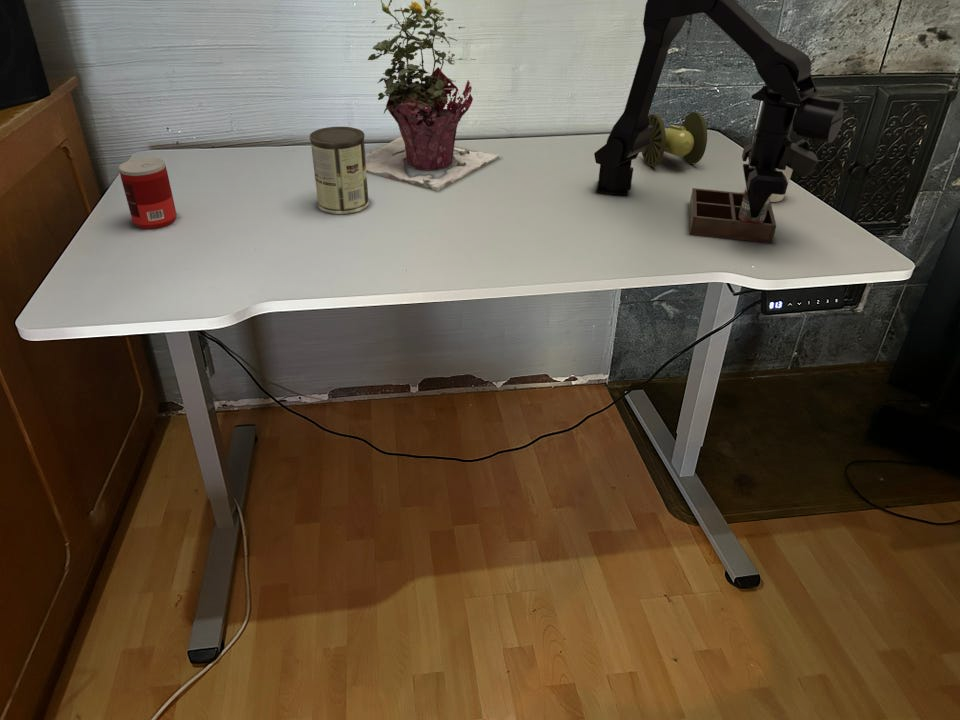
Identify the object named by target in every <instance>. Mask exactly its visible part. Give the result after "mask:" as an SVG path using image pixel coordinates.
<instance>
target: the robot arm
mask: <svg viewBox="0 0 960 720" xmlns="http://www.w3.org/2000/svg"><path fill="white" fill-rule="evenodd" d="M696 14H697V15H698V14H705V15H706V16H707V17H708V18H709V19H710V20H711V21H712V22H713V23H715V25H717V26H718V27H719V28H720V29H721V31H723V32H724V34H726V35H727V36H728V37H729V38H730V39H731V40H732V41H733V42H734V43H735V44H736V45H737V46H738V47H739V48H740V49H741V50H742V51H744V53H745V54H747V56H749V57H750V59H751V61H752V62H753V64H754V66H755V69H756V72H757V74H758V76H759V77H760V79H762V81H763V83H764V84H765V85H763V86H762V87H761V88H760V89H759V90H758V91H757V92H755V93H753V94H751V97H750V98H751V99H752V100H755V101H760V102H762V104H761V107H760V111H759V117H758V120H757V124H756V128H754V129H753V133H752V134H753V141H752V142H751V143H748V144H747V145H745V146H743V150H742V155H741V158H742V162H747V160H748V162H747V163H743V164H742V169H743V177H744V182H745V187H746V186H747V193H748V200H749V206H750V213H751V217H753V218H757V217H758V215H759V213H760V212H761V210H762V208H763V206H764V205H765V203H766V201H767V200H768V198H769V196H770V195H771V194H779V195H783V194H785V195H786V193H787V189H788V186H789V184H788V182H787V179H786V176H785V175H784V174H783V172H782V171H777V170H776V168H778V169H779V170H785V169H786V166H787V167H789V168H791V169H793V171H795V172H796V173H799V174H800V175H801V176H803V177H805V178H808V177H809V176H810V175H811V173H812V172H813V170H814V169H815V168H816V166H817V165H818V163H819V162H820V161H819V159H818V156H817V155H816V154H815V153H814V151H811V144H810V142H809V141H808V140H805V139H803V138H808V139H812V140H815V141H820V142H824V143H828V144H832V143H833V142H834V141H835V140H836V138H837V136H838V135H839V132H840V131H841V128H842V125H843V122H844V118H843V117H844V109H843V106H844V103H845V102H844V100H843V99H840V98H839V99H838V98H827V97H823V96H818V95H819V91H818V88H817V86H816V83H815V81H814V78H813V76H812V73H811V72H812V61H811V59H810V57H809V55H807V54H806V53H805V52H804V51H802V50H800V49H799V48H797V47H795V46H794V45H792V44H791V43H787V42H785V41H783V40H780V39H778V38H776V37H775V36H773V35H772V34H771V33H770V32H769V31H768V30H767V29H766V28H765V27H763V25H762V24H760V23H759V22H758V21H757V19H756V18H754V17H753V15H751V14H750V13H749V12H748V11H747V10H746V9H745V8H744V7H743V6H741V5H740V3H738V2H737V1H736V0H646V2H645V6H644V14H643V21H642V26H643V33H644V43H643V45H642V48H641V53H640V56H639V60H638V63H637V66H636V69H635V73H634V76H633V79H632V83H631V86H630V90H629V92H628V93H629V94H628V97H627V100H626V103H625V107H624V110H623V112H622V114H621V116H620V117H619V118H618V120H616V122H615V124H614V125H613V126H612V128H611V130H610V133H609V135H608V137H607V140H606V143H605V144H604V145H603V146H601V147H600V148H599V149H597V150H596V151H594V153H593V155H594V161H595V163H596V164H597V165H599V171H598V179H597V180H598V182H597V185H596V189H595V192H596V193H599V194H606V195H614V196H615V195H616V196H628V193H629V191H631V187H632V181H633V173H634V167H633V166H632V161H633V160H636V159H638V157H639V154H640V153H642V151H643V150H644V149H645V148H646V146H648V145H650V138H651V135H652V133H653V131H654V128H655V127H654V126H651V125H649V122H648V116H649V114H650V113H649V112H650V110H651V106H652V103H653V100H654V97H655V94H656V90H657V89H658V88H657V87H658V84H659V81H660V78H661V75H662V73H663V72H662V71H663V69H664V66H665V62H666V59H667V57H668V56H667V55H668V52H669V49H670V46H671V44H672V42H673V41H674V40H675V38H676V37H677V36H678V34H679V33H680V31H681V30H682V28H683V27H684V25H685V23H686V21H687V19H688V17H689V16H690V15H696ZM791 132H795V134H796V135H797V136H799V137H802V138H801V139H800V140H798V141H796V142H792V140H791V137H790V135H791Z"/></svg>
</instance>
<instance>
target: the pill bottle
mask: <svg viewBox="0 0 960 720" xmlns="http://www.w3.org/2000/svg"><path fill="white" fill-rule="evenodd" d="M743 193H744V196H743V200H742V204H741V208H740V212H739V219H740V220H741V221H749V222H758V223H763V222H764V220H765V217H766V213H767V209H768V205H769V201H770V198H771V195H770V196H769V198H768V200H767V201H766V203H765V205H764V206H763V208H762V210H761V212H760V213H759V215H758V217H757V218H753V217H751V213H750V206H749V200H748V193H747V186H746V185H745V188H744V192H743Z"/></svg>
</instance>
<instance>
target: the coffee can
mask: <svg viewBox="0 0 960 720" xmlns="http://www.w3.org/2000/svg"><path fill="white" fill-rule="evenodd" d="M365 137H366V136H365V132H364V131H362V130H361V129H358V128H356V127H350V126H329V127H322V128H319V129H316V130H314V131H312V132H311V133H310V134H309V141H310V147H311V155H312V164H313V172H314V181H315V190H316V199H317V208H318V209H319V210H321V211H322V212H325V213H328V214H335V215H350V214H354V213H359V212H361V211H363V210H365V209H367V207H369V204H370V200H369V189H368V188H369V187H368V178H367V177H368V176H367V172H366V160H365V155H366V149H365Z"/></svg>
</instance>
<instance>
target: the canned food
mask: <svg viewBox="0 0 960 720" xmlns="http://www.w3.org/2000/svg"><path fill="white" fill-rule="evenodd" d="M118 171H119V175H120V180H121V183H122V188H123V191H124V194H125V198H126V202H127V205H128V209H129V213H130V217H131V221H132V223H133V224H134V225H135V226H136V227H137V228H140V229H144V230H145V229H146V230H150V229H151V230H153V229H160V228H163V227H167V226H169V225H171V224H172V223H175V221H176V219H177V209H176V206H175V201H174V195H173V191H172V188H171V181H170V178H169V174H168V169H167V165H166V163H165V160H164V159H161V158H159V157H150V156H149V157H147V156H146V157H138V158H133V159H130V160H125V161H124V162H122V163H121V164H119V166H118Z"/></svg>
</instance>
